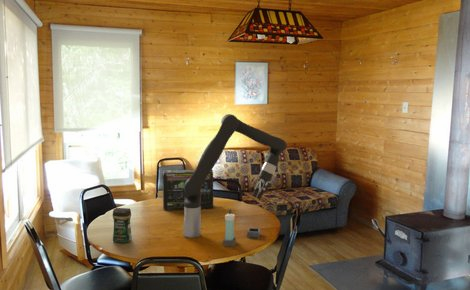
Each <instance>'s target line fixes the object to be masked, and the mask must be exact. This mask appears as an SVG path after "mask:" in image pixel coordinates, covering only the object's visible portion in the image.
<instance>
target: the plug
mask: <svg viewBox="0 0 470 290" xmlns="http://www.w3.org/2000/svg"><path fill="white" fill-rule="evenodd" d="M235 217H236V215H235V213H232V209H231V208H229V209H228V213H226V214H225V215H224V221H225V235H224V237H225V240H232V241H233V240H234V237H235V234H234V233H235V223H234V222H235Z"/></svg>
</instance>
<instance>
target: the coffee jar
mask: <svg viewBox="0 0 470 290" xmlns="http://www.w3.org/2000/svg"><path fill="white" fill-rule="evenodd" d="M131 211H132V210H131V208H124V207H115V208H113V210H112V219H113V234H112V241H113V242H114V243H117V244H118V243H119V244H126V243H129V242H131V241H132V238H133V237H132V230H131V217H132V212H131Z"/></svg>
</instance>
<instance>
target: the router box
mask: <svg viewBox="0 0 470 290" xmlns="http://www.w3.org/2000/svg"><path fill="white" fill-rule="evenodd" d="M195 170H196V169H166V170H165V169H163V170H162V207H163V208H162V209H163V211H179V210H181V211H184V198H185V190H184V185H185V182H186V181H187V180H188V179H189V178H191V176H192V175H193V173H194V172H195ZM209 209H210V210H211V209H214V170H213V169H212V170H211V171H210V173H209V174H208V175H207V177H206V179H205V181H204V183H203V185H202V187H201V210H209Z"/></svg>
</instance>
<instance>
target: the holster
mask: <svg viewBox="0 0 470 290" xmlns="http://www.w3.org/2000/svg"><path fill="white" fill-rule="evenodd" d="M236 243H237V237H236V236H234V240H233V241H232V240H225V236H224V237H223V239H222V247H233V248H234V247H235V246H236Z"/></svg>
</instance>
